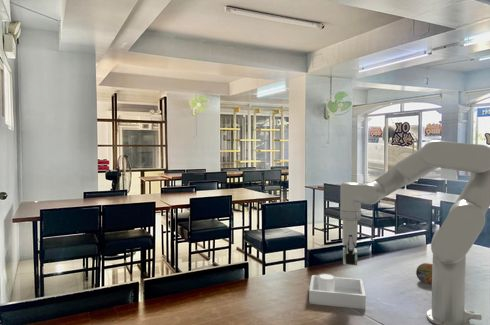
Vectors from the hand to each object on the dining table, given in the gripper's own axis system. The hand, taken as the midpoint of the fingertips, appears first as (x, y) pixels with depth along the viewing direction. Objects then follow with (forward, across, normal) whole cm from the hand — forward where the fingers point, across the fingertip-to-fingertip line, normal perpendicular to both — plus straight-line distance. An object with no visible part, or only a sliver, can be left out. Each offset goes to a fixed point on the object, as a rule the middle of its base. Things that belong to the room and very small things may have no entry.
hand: (349, 261), depth 133 cm
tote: (+15, 0, -5) cm, 15 cm away
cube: (+1, 0, 0) cm, 1 cm away
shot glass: (+14, 0, -9) cm, 17 cm away
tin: (+15, -23, +36) cm, 45 cm away
